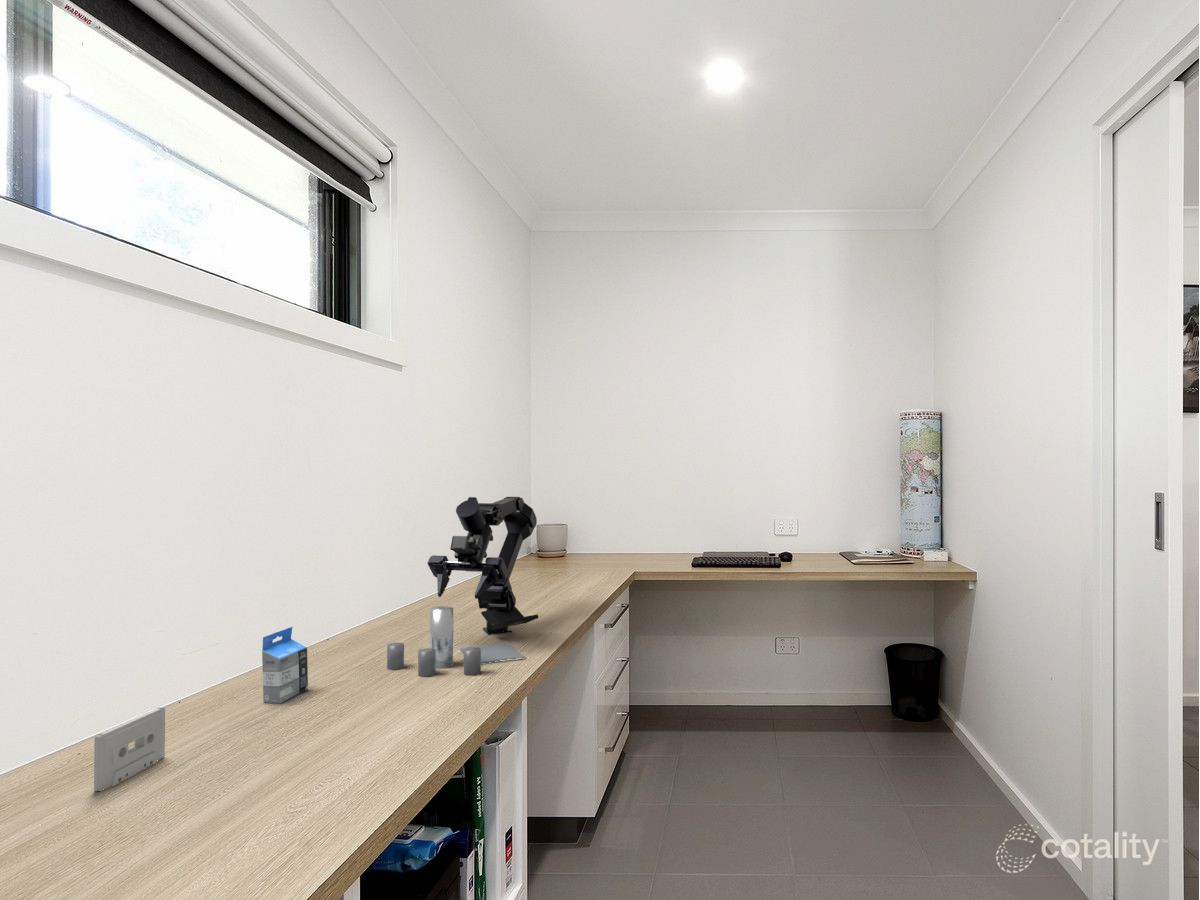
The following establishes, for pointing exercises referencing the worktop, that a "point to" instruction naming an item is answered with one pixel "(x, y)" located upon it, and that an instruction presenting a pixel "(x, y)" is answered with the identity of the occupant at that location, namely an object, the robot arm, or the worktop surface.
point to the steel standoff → (442, 635)
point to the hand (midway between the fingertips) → (457, 596)
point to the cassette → (119, 760)
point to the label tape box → (283, 667)
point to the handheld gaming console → (506, 618)
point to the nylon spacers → (431, 660)
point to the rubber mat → (497, 652)
